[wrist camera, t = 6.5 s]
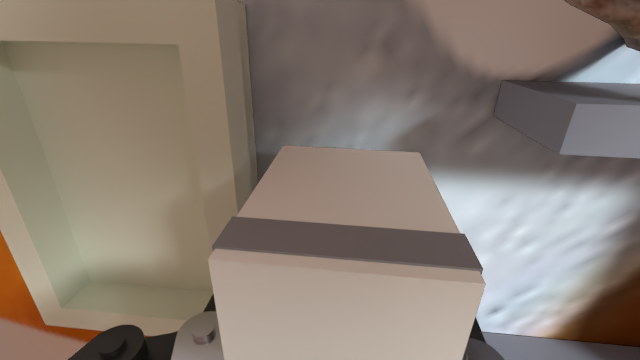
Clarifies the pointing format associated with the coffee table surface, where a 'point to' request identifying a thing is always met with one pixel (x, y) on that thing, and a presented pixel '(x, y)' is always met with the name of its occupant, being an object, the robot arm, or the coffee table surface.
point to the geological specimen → (616, 16)
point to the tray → (122, 153)
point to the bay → (570, 139)
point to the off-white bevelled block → (345, 263)
